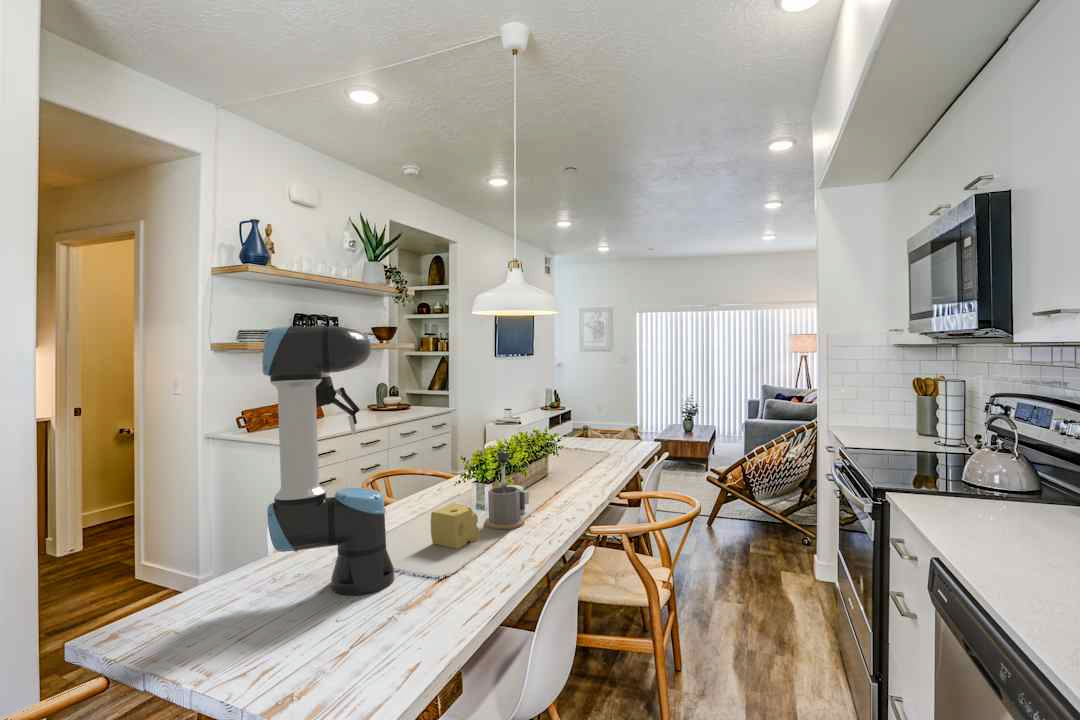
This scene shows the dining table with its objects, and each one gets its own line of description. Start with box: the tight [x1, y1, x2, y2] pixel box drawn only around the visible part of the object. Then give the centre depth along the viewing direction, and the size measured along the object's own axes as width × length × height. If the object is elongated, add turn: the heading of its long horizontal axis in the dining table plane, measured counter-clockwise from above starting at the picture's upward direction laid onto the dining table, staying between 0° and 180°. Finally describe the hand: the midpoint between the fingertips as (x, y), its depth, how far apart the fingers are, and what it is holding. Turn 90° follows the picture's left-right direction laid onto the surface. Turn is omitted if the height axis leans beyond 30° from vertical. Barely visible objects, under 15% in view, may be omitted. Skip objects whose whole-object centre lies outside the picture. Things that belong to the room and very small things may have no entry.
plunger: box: [496, 450, 509, 494], centre depth 184 cm, size 6×6×16 cm
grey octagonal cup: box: [484, 485, 526, 531], centre depth 185 cm, size 13×13×11 cm
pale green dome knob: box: [508, 484, 530, 516], centre depth 195 cm, size 8×10×9 cm
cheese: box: [430, 502, 480, 550], centre depth 169 cm, size 10×11×10 cm
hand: (334, 440), depth 184 cm, fingers open, 13 cm apart
